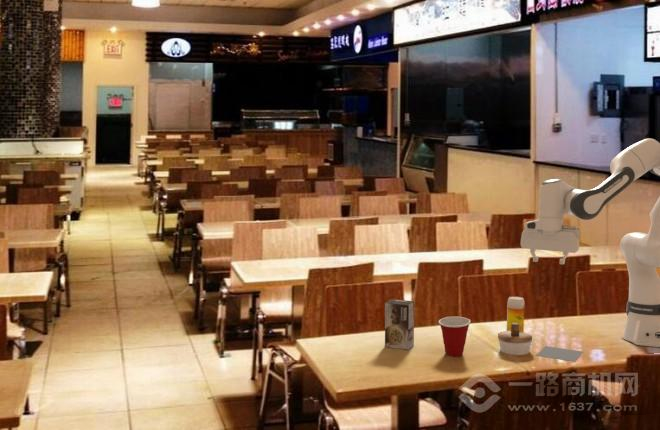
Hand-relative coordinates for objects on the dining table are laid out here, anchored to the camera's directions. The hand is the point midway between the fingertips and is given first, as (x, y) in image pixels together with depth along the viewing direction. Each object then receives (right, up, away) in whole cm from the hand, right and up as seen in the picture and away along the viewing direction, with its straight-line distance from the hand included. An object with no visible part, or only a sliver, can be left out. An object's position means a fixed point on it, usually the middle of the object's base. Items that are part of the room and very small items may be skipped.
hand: (548, 262), depth 275 cm
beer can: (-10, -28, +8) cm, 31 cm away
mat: (0, -31, -13) cm, 33 cm away
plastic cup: (-36, -31, -13) cm, 49 cm away
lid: (-15, -25, -11) cm, 31 cm away
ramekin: (-15, -31, -10) cm, 35 cm away
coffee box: (-54, -30, -4) cm, 62 cm away
